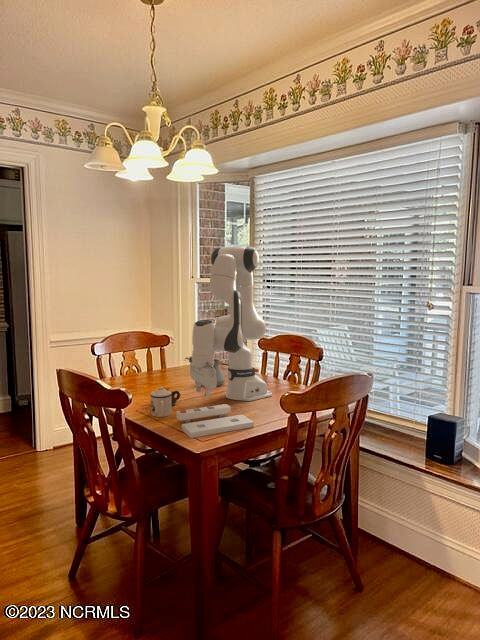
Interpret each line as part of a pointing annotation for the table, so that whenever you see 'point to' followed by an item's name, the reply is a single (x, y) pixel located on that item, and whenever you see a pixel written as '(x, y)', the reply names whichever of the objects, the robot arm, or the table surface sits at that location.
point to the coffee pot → (217, 372)
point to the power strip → (203, 412)
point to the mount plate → (217, 425)
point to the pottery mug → (173, 399)
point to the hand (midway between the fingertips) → (203, 394)
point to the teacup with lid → (161, 402)
